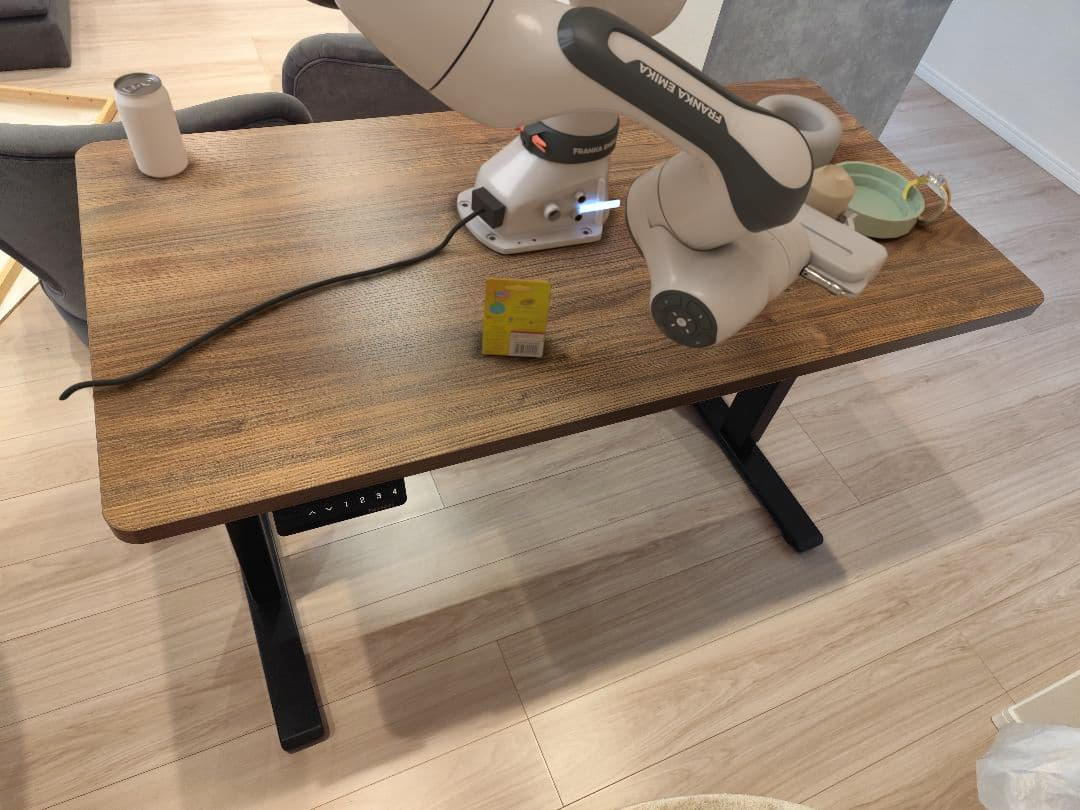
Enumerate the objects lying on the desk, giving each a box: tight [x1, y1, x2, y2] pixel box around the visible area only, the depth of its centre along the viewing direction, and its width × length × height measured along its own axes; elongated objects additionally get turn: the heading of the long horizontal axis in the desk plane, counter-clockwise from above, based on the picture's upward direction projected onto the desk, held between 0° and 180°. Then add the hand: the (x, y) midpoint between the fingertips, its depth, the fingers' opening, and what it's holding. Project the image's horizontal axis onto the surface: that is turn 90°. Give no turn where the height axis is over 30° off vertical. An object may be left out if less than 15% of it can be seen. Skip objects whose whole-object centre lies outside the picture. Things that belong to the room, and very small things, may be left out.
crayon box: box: [481, 276, 553, 359], centre depth 84 cm, size 7×3×12 cm, turn 91°
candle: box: [804, 163, 855, 221], centre depth 85 cm, size 6×6×10 cm
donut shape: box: [756, 93, 844, 170], centre depth 121 cm, size 15×15×7 cm
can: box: [112, 71, 189, 179], centre depth 98 cm, size 6×6×12 cm
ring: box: [903, 170, 952, 224], centre depth 112 cm, size 7×3×8 cm, turn 29°
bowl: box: [834, 160, 926, 239], centre depth 114 cm, size 15×15×4 cm
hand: (823, 202), depth 85 cm, fingers closed on candle, 5 cm apart
